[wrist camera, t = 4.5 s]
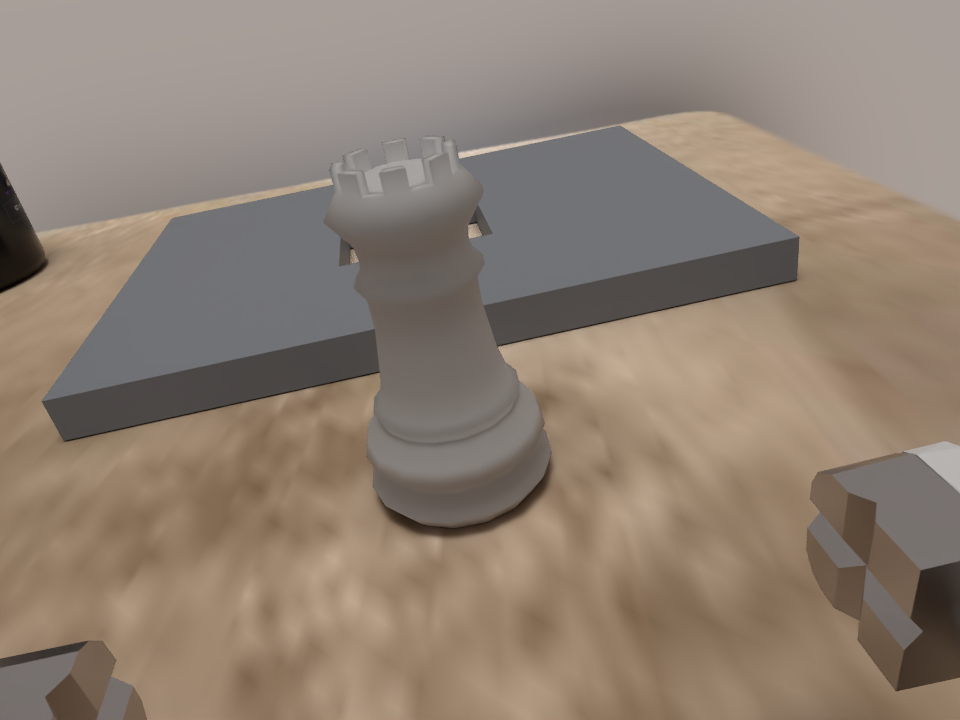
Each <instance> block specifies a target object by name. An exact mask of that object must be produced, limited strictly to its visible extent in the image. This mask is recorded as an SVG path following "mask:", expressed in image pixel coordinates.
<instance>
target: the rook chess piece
mask: <svg viewBox="0 0 960 720" xmlns="http://www.w3.org/2000/svg"><path fill="white" fill-rule="evenodd" d="M382 145H383V149H384V153H385V158H386V162H387V164H384V165H381V166H378V167H375V168H372V167H371V164H370V159H369V155H368V151H367V150H366V149H358V150H355V151H353V152H351V153H348V154H345V155H343V160H344V161H343V162H336V163H331V166H330V169H329V171H330V175H331V178H332V182H333V186H334V190H335V193H334V195H333V197H332V200H331V202H330V205H329V207H328V209H327V212H326V215H325V219H324V222H323V223H324V224H325V225H327V226H328V227H329V228H330V229H332V230H333V231H334V232H335V233H336V234H338V235H339V236H340V237H341V238H342V239H344V240H345V241H346V242H347V243H348V244H350V245H351V246H352V247H353V248H354V250H355V253H356V255H357V257H358V260H359V267H360V269H359V271H358V273H357V275H356V277H355V282H354V289H355V290H356V291H357V292H358V293H359V294H360V295H361V296H362V297H363V298H365V299H366V300H367V302H368V306H369V309H370V313H371V317H372V321H373V324H374V328H375V335H376V344H377V353H378V361H379V370H380V379H381V386H380V390H379V392H378V393H377V394H376V396H375V398H374V416H373V417H372V419H371V420H370V422H369V425H368V439H367V458H368V460H369V461H370V462H371V464H372V465H373V467H374V472H373V488H374V489H375V491H376V492H377V494H378V495H379V497H380V498H381V500H382V501H383V503H384V504H385V506H386V507H388V508H390V509H392V510H394V511H396V512H398V513H400V514H402V515H404V516H406V517H408V518H410V519H412V520H414V521H417V522H419V523H421V524H423V525H425V526H435V527H446V528H459V527H464V526H470V525H475V524H480V523H485V522H488V521H490V520H492V519H494V518H496V517H498V516H500V515H502V514H504V513H506V512H508V511H510V510H512V509H514V508H515V507H516V506H517V505H518V504H519V503H520V502H521V501H522V500H523V499H524V498H525V497H526V496H527V495H528V494H529V493H530V492H531V491H532V490H533V489H534V488H535V487H536V485H537V484H538V483H539V482H540V480H541V479H542V478H543V476H544V474H545V471H546V468H547V465H548V462H549V459H550V456H551V453H552V451H551V448H550V444H549V441H548V438H547V434H546V431H545V430H543V426H544V423H545V422H544V419H543V416H542V413H541V409H540V406H539V403H538V401H537V399H536V397H535V395H534V393H533V391H531V390H530V389H529V388H528V387H526V386H525V385H524V384H523V383H521V382H520V381H519V380H518V376H517V373H516V370H515V369H514V368H512V367H511V366H510V365H509V364H507V363H506V362H505V361H504V359H503V357H502V355H501V353H500V351H499V349H498V347H497V345H496V342H495V339H494V336H493V333H492V330H491V327H490V324H489V321H488V318H487V315H486V312H485V309H484V306H483V303H482V299H481V293H480V288H479V282H478V275H479V273H480V271H481V270H482V268H483V266H484V264H485V261H484V258H483V254H482V253H481V252H480V251H478V250H477V249H476V248H475V247H473V246H472V245H471V243H470V240H469V237H468V224H469V222H470V220H471V218H472V216H473V214H474V212H475V210H476V208H477V206H478V204H479V202H480V200H481V197H482V195H483V193H484V190H483V187H482V184H481V182H479V181H478V180H477V179H476V178H475V177H474V176H473V175H472V174H471V173H470V172H469V171H468V170H466V169H465V168H464V167H463V166H462V165H461V164H460V162H459V156H458V151H457V145H456V142H455V140H451V141H447V142H445V138H444V136H425V137H424V138H422V139H420V145H421V150H422V155H423V158H422V159H411V160H410V158H409V154H408V150H407V144H406V141H405V138H402V139H397V140H392V141H386V142H382Z"/></svg>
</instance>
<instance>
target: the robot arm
mask: <svg viewBox="0 0 960 720" xmlns="http://www.w3.org/2000/svg"><path fill="white" fill-rule="evenodd" d="M810 500H811V501H812V502H813V504H814V505H815V506H816V507H817V508H818V510H819V511H820V513H819V514H818V515H817V517H816V518H815V519H814V520H813V522H812V523H811V524H810V525H809V527H808V528H807V547H806V550H807V554H808V558H809V562H810V565H811V569H812V573H813V575H814V577H815V579H816V581H817V583H818V585H819V587H820V589H821V590H822V592H823V593H824V595H825V596H826V597H827V599H828V600H829V602H830V603H831V604H832V606H833V607H834V608H835V609H837V610H839V611H841V612H843V613H845V614H847V615H849V616H851V617H853V618H855V619H857V620H859V625H858V641H859V643H860V644H861V645H862V647H863V648H864V649H865V651H866V652H867V653H868V655H869V656H870V657H871V659H872V660H873V661H874V663H875V664H876V665H877V667H878V668H879V669H880V671H881V672H882V673H883V675H884V676H885V677H886V679H887V680H888V681H889V683H890V684H891V685H892V687H893V688H894V689H895V691H900V690H905V689H910V688H914V687H919V686H923V685H928V684H933V683H937V682H942V681H947V680H951V679H956V678H960V446H958V445H956V444H953V443H950V442H947V441H944V442H940V443H936V444H932V445H928V446H924V447H919V448H915V449H911V450H907V451H903V452H902V453H895V454H891V455H887V456H883V457H879V458H875V459H870V460H866V461H862V462H858V463H854V464H850V465H845V466H841V467H837V468H833V469H829V470H825V471H820V472H818V473H817V474H816V476H815V478H814V479H813V481H812V484H811V494H810ZM115 663H116V659H115V658H114V656H113V655H112V653H111V652H110V651H109V649H108V648H107V646H106V645H105V644H104V642H103V641H85V642H80V643H75V644H70V645H65V646H60V647H56V648H51V649H46V650H41V651H36V652H31V653H26V654H21V655H17V656H12V657H7V658H2V659H0V720H147V717H146V714H145V710H144V707H143V704H142V700H141V699H140V697H139V695H138V694H137V692H136V690H135V689H134V687H133V686H132V685H129V684H127V683H125V682H123V681H120V680H118V679H116V678H113V677H111V675H112V672H113V669H114V666H115Z"/></svg>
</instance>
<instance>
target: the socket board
mask: <svg viewBox="0 0 960 720" xmlns="http://www.w3.org/2000/svg"><path fill="white" fill-rule="evenodd" d="M459 162H460V164H461V165H462V166H463V167H464V168H465V169H466V170H468V171H469V172H470V173H471V174H472V175H473V176H474V177H475V178H476V179H477V180H478V181H479V182H481V184H482V187H483V190H484V193H483V195H482V197H481V200H480V202H479V204H478V206H477V208H476V210H475V212H474V214H473V216H472V218H471V220H470V222H469V224H470V223H474V222H477V224H478V226H479V228H480V230H481V232H482V235H483V236H480V237H475V238H471V239H469V240H470V243H471V245H472V246H473V247H475V248H476V249H477V250H478V251H480V252H481V253H482V254H483V258H484V261H485V264H484V266H483V268H482V270H481V271H480V273H479V275H478V282H479V288H480V293H481V299H482V303H483V306H484V309H485V312H486V315H487V318H488V321H489V324H490V327H491V330H492V333H493V336H494V339H495V342H496V345H502V344H506V343H511V342H515V341H520V340H524V339H529V338H534V337H538V336H543V335H547V334H552V333H556V332H561V331H565V330H570V329H574V328H579V327H584V326H588V325H593V324H597V323H602V322H606V321H611V320H615V319H620V318H624V317H629V316H633V315H638V314H643V313H647V312H652V311H656V310H661V309H665V308H670V307H674V306H679V305H683V304H688V303H693V302H697V301H702V300H706V299H711V298H715V297H720V296H724V295H729V294H733V293H738V292H742V291H747V290H752V289H756V288H761V287H765V286H770V285H774V284H779V283H783V282H788V281H792V280H797V269H798V252H799V236H797V235H796V234H794V233H793V232H791V231H789V230H788V229H786V228H784V227H783V226H781V225H780V224H778V223H776V222H775V221H773V220H772V219H770V218H768V217H767V216H765V215H763V214H762V213H760V212H759V211H757V210H755V209H754V208H752V207H751V206H749V205H747V204H746V203H744V202H743V201H741V200H739V199H738V198H736V197H734V196H733V195H731V194H730V193H728V192H726V191H725V190H723V189H722V188H720V187H718V186H717V185H715V184H713V183H712V182H710V181H709V180H707V179H705V178H704V177H702V176H701V175H699V174H697V173H696V172H694V171H692V170H691V169H689V168H688V167H686V166H684V165H683V164H681V163H680V162H678V161H676V160H675V159H673V158H672V157H670V156H668V155H667V154H665V153H663V152H662V151H660V150H659V149H657V148H655V147H654V146H652V145H651V144H649V143H647V142H646V141H644V140H642V139H641V138H639V137H638V136H636V135H634V134H633V133H631V132H630V131H628V130H626V129H625V128H623V127H621V126H616V127H611V128H606V129H601V130H597V131H592V132H587V133H582V134H577V135H572V136H567V137H563V138H558V139H553V140H548V141H543V142H538V143H534V144H529V145H524V146H519V147H514V148H509V149H505V150H500V151H495V152H490V153H485V154H480V155H475V156H471V157H466V158H461V159H459ZM334 193H335V190H334V186H333V185H330V186H325V187H321V188H316V189H311V190H306V191H301V192H296V193H291V194H287V195H282V196H277V197H272V198H267V199H262V200H258V201H253V202H248V203H243V204H238V205H233V206H229V207H224V208H219V209H214V210H209V211H204V212H199V213H195V214H190V215H185V216H180V217H175V218H172V219H171V220H170V222H169V223H168V225H167V226H166V228H165V229H164V230H163V232H162V233H161V235H160V236H159V237H158V239H157V240H156V242H155V243H154V244H153V246H152V247H151V249H150V250H149V251H148V253H147V254H146V256H145V257H144V258H143V260H142V261H141V263H140V264H139V265H138V267H137V268H136V270H135V271H134V272H133V274H132V275H131V277H130V278H129V279H128V281H127V282H126V284H125V285H124V286H123V288H122V289H121V291H120V292H119V293H118V295H117V296H116V298H115V299H114V300H113V302H112V303H111V305H110V306H109V307H108V309H107V310H106V312H105V313H104V314H103V316H102V317H101V319H100V320H99V322H98V323H97V324H96V326H95V327H94V329H93V330H92V331H91V333H90V334H89V336H88V337H87V338H86V340H85V341H84V343H83V344H82V345H81V347H80V348H79V350H78V351H77V352H76V354H75V355H74V357H73V358H72V359H71V361H70V362H69V364H68V365H67V366H66V368H65V369H64V371H63V372H62V373H61V375H60V376H59V378H58V379H57V380H56V382H55V383H54V385H53V386H52V387H51V389H50V390H49V392H48V393H47V394H46V396H45V397H44V399H43V400H42V403H43V405H44V407H45V408H46V410H47V412H48V414H49V415H50V417H51V419H52V421H53V422H54V424H55V426H56V428H57V430H58V431H59V433H60V435H61V437H62V438H63V440H64V441H66V440H70V439H75V438H79V437H84V436H88V435H93V434H98V433H102V432H107V431H111V430H116V429H120V428H125V427H129V426H134V425H138V424H143V423H148V422H152V421H157V420H161V419H166V418H170V417H175V416H179V415H184V414H188V413H193V412H197V411H202V410H207V409H211V408H216V407H220V406H225V405H229V404H234V403H238V402H243V401H247V400H252V399H257V398H261V397H266V396H270V395H275V394H279V393H284V392H288V391H293V390H297V389H302V388H306V387H311V386H316V385H320V384H325V383H329V382H334V381H338V380H343V379H347V378H352V377H356V376H361V375H366V374H370V373H375V372H379V371H380V370H379V361H378V353H377V344H376V335H375V328H374V324H373V321H372V317H371V313H370V309H369V306H368V302H367V300H366V299H365V298H363V297H362V296H361V295H360V294H359V293H358V292H357V291H356V290H355V289H354V282H355V277H356V275H357V273H358V271H359V269H360V267H359V262H358V263H353V264H350V249H351V248H353V247H352V246H351V245H350V244H348V243H347V242H346V241H345V240H344V239H342V238H341V237H340V236H339V235H338V234H336V233H335V232H334V231H333V230H332V229H330V228H329V227H328V226H327V225H325V224H324V223H323V222H324V219H325V215H326V212H327V209H328V207H329V205H330V202H331V200H332V197H333V195H334Z"/></svg>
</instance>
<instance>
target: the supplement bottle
mask: <svg viewBox="0 0 960 720" xmlns="http://www.w3.org/2000/svg"><path fill="white" fill-rule="evenodd" d="M44 258H45V253H44V250H43V247H42V245H41V243H40V241H39V239H38V237H37V235H36V233H35V231H34V229H33V227H32V225H31V223H30V221H29V219H28V217H27V215H26V213H25V211H24V209H23V207H22V205H21V203H20V201H19V199H18V197H17V195H16V193H15V191H14V189H13V187H12V185H11V183H10V181H9V179H8V177H7V175H6V173H5V171H4V169H3V167H2V165H1V163H0V289H3V288H5V287H7V286H10V285H12V284H14V283H16V282H18V281H20V280H22V279H24V278H26V277H27V276H29V275H31V274H32V273H34V272H35V271H36V270H38V269H39V268H40V267H41V265H42V264H43V262H44Z"/></svg>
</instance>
